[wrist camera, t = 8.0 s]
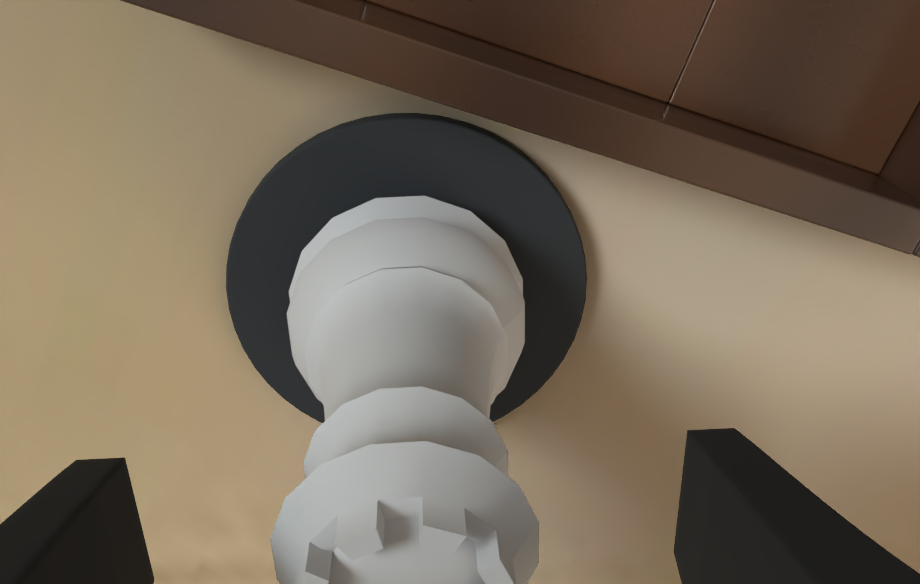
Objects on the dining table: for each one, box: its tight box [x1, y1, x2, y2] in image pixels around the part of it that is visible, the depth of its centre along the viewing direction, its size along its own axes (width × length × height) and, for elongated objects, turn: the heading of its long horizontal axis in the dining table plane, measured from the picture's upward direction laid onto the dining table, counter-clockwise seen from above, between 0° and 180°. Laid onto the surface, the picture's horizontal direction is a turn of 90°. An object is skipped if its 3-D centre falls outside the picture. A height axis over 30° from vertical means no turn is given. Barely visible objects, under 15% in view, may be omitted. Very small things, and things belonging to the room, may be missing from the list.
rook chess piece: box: [270, 196, 539, 584], centre depth 13 cm, size 4×4×8 cm
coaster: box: [226, 113, 587, 423], centre depth 17 cm, size 7×7×1 cm
